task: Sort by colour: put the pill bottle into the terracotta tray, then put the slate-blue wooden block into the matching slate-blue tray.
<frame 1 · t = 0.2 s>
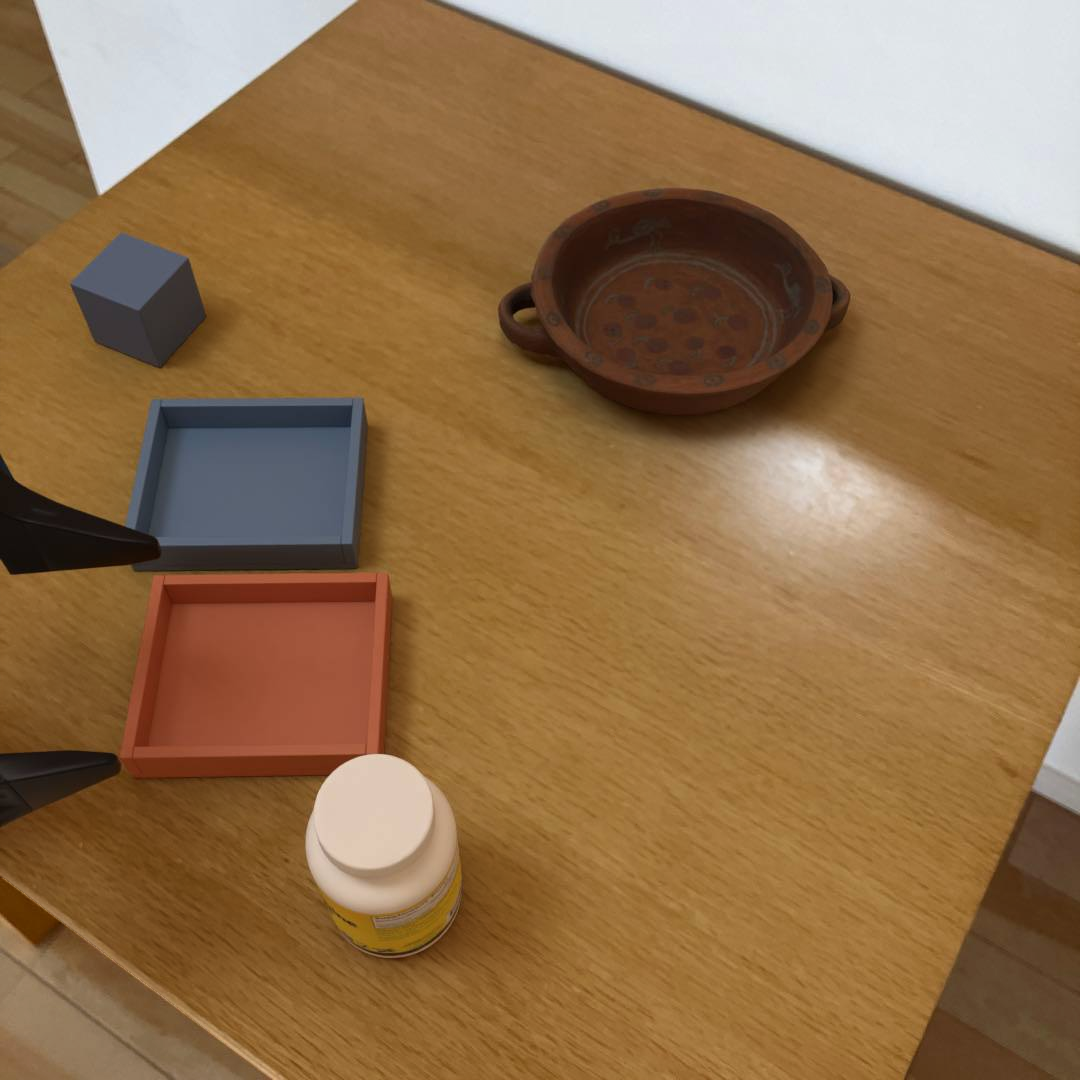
hand: (139, 649, 44), 15 cm above the table, tool horizontal, fingers open, 9 cm apart
terracotta tray: (269, 682, 60), on the table
blue tray: (255, 494, 66), on the table
blue block: (151, 329, 73), on the table
dish: (671, 340, 74), on the table
pill bottle: (396, 895, 54), on the table
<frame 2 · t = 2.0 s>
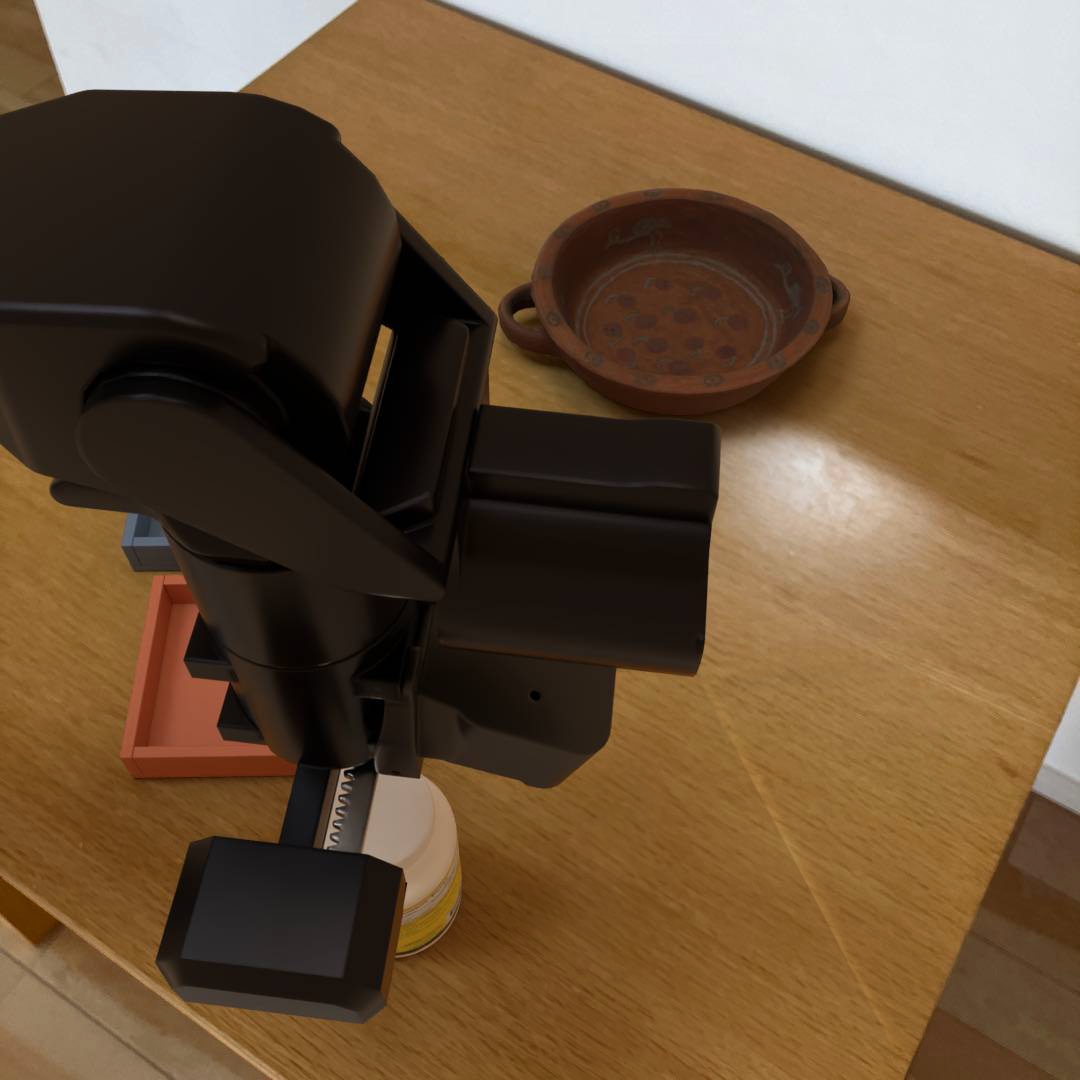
hand: (367, 793, 44), 12 cm above the table, tool pointing down, fingers open, 9 cm apart
nothing on the table moved.
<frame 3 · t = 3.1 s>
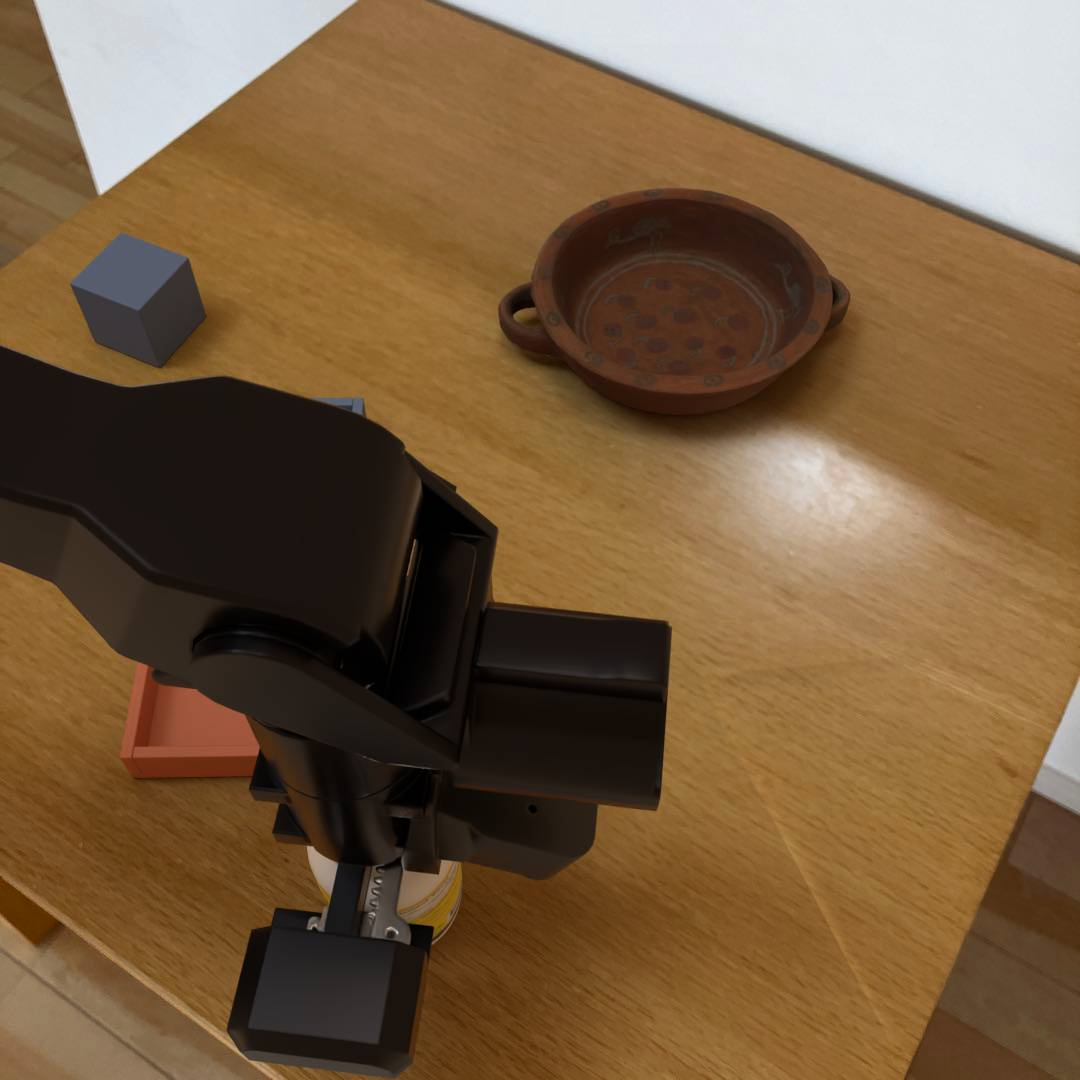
hand: (392, 870, 51), 4 cm above the table, tool pointing down, fingers closed on pill bottle, 7 cm apart
pill bottle: (396, 895, 54), on the table, touching gripper
everything else where it was.
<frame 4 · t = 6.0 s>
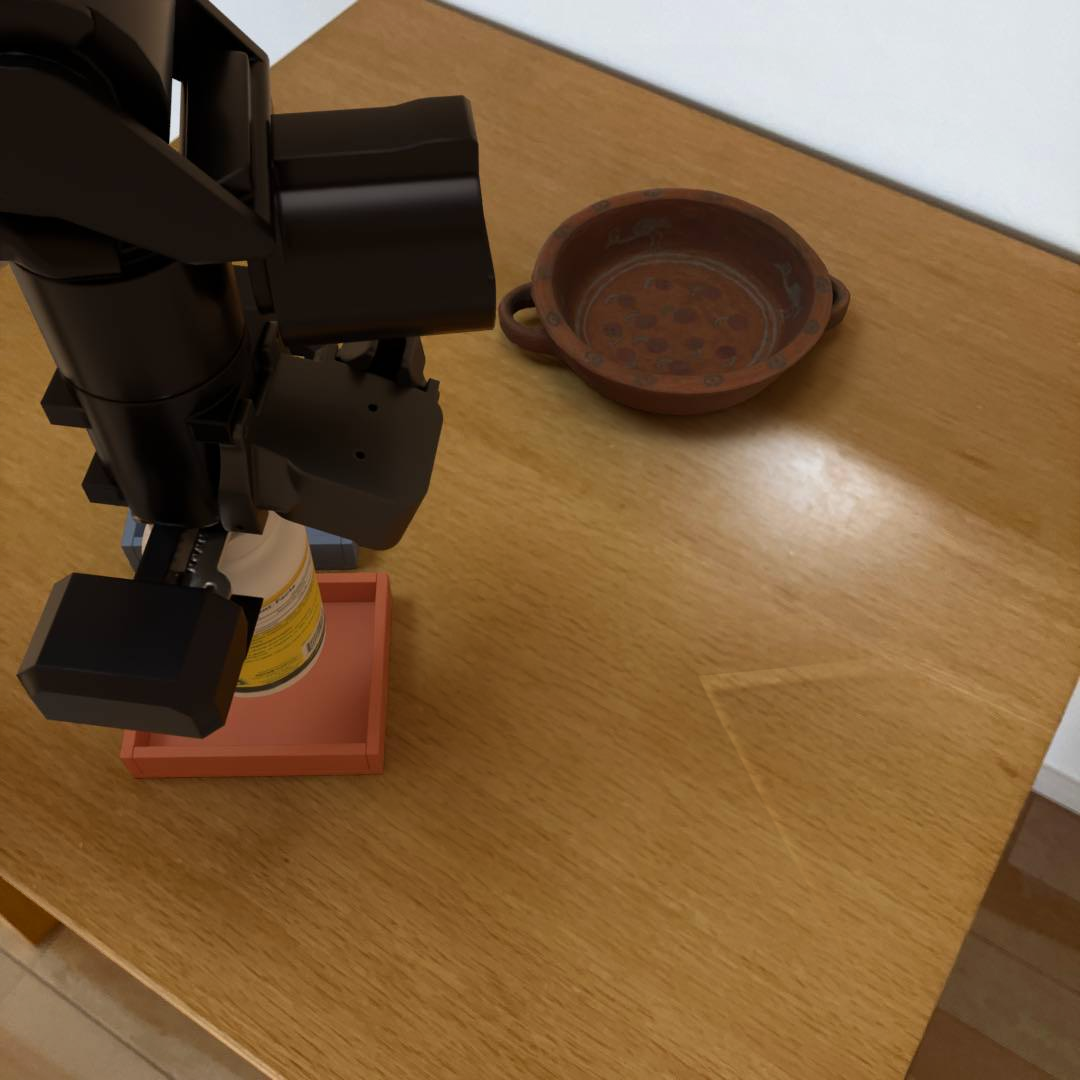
hand: (244, 597, 48), 13 cm above the table, tool pointing down, fingers closed on pill bottle, 6 cm apart
pill bottle: (257, 641, 51), point 9 cm above the table, touching gripper
everything else where it was.
when the fingers open (4 cm above the table, at t = 8.7 s): pill bottle stays where it is, resting on terracotta tray.
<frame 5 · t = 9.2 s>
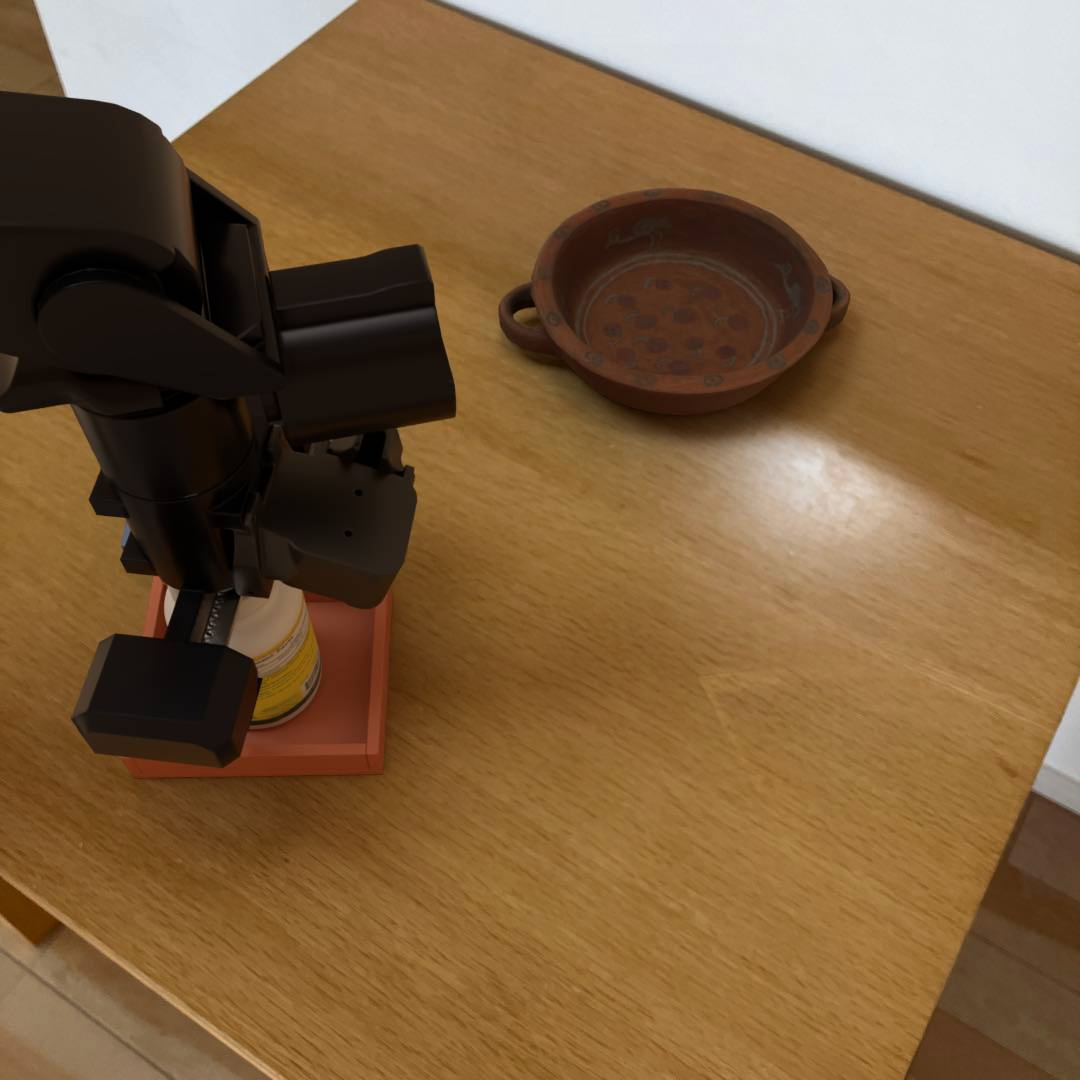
hand: (253, 641, 56), 4 cm above the table, tool pointing down, fingers open, 9 cm apart
pill bottle: (263, 680, 60), resting on terracotta tray
everything else where it was.
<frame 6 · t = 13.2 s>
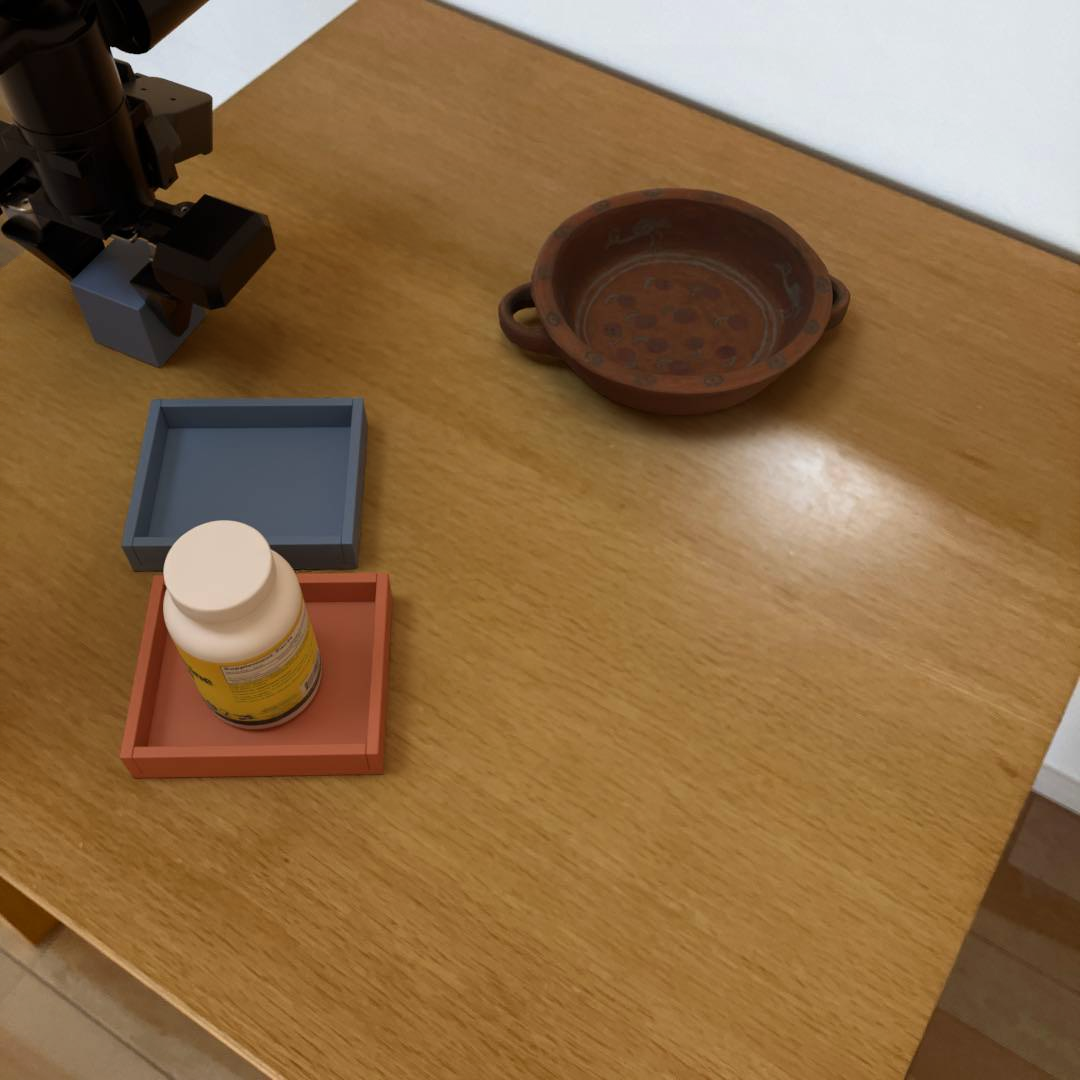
hand: (147, 317, 72), 1 cm above the table, tool pointing down, fingers closed on blue block, 5 cm apart
blue block: (151, 328, 73), on the table, touching gripper
everything else where it was.
when the fingers open (2 cm above the table, at t = 18.6 s): blue block stays where it is, resting on blue tray.
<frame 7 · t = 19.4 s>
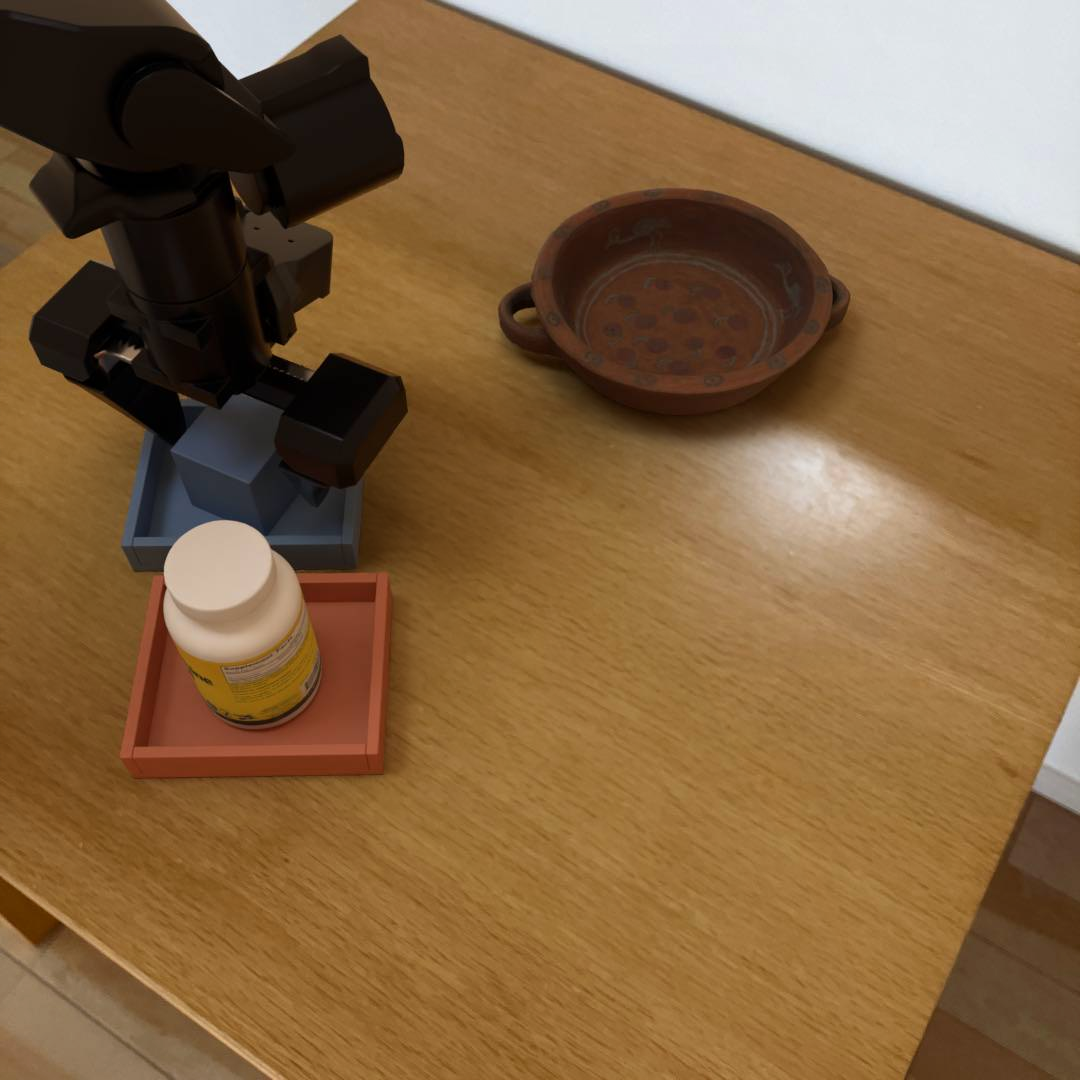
hand: (248, 470, 65), 2 cm above the table, tool pointing down, fingers open, 9 cm apart
blue block: (253, 488, 66), resting on blue tray
everything else where it was.
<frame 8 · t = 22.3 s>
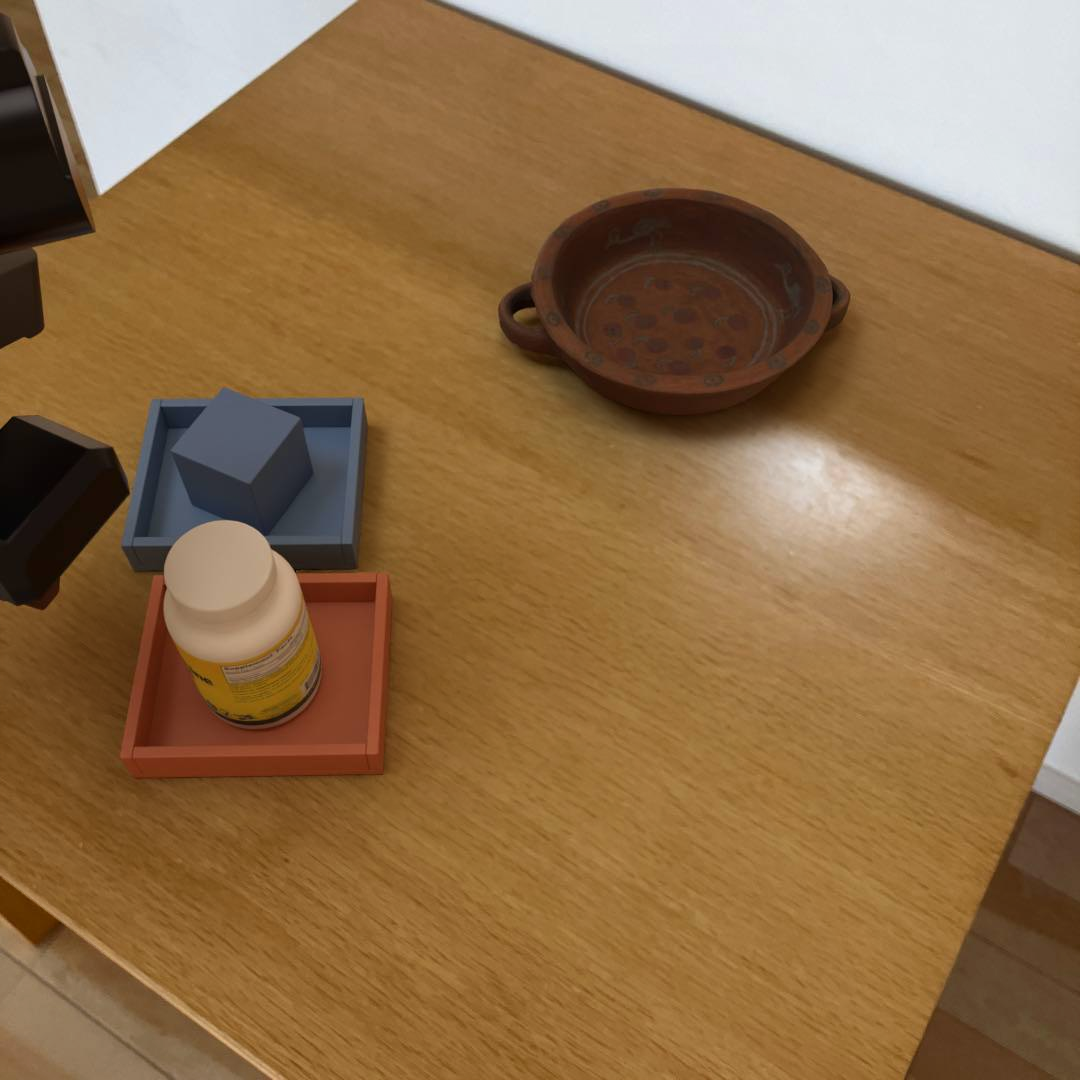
nothing on the table moved.
at the end: pill bottle inside the target area in the terracotta tray (0.2 cm from its centre), point 0.3 cm above the terracotta tray's base; pill bottle tilted 0°; blue block inside the target area in the blue tray (0.1 cm from its centre), point 0.5 cm above the blue tray's base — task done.
